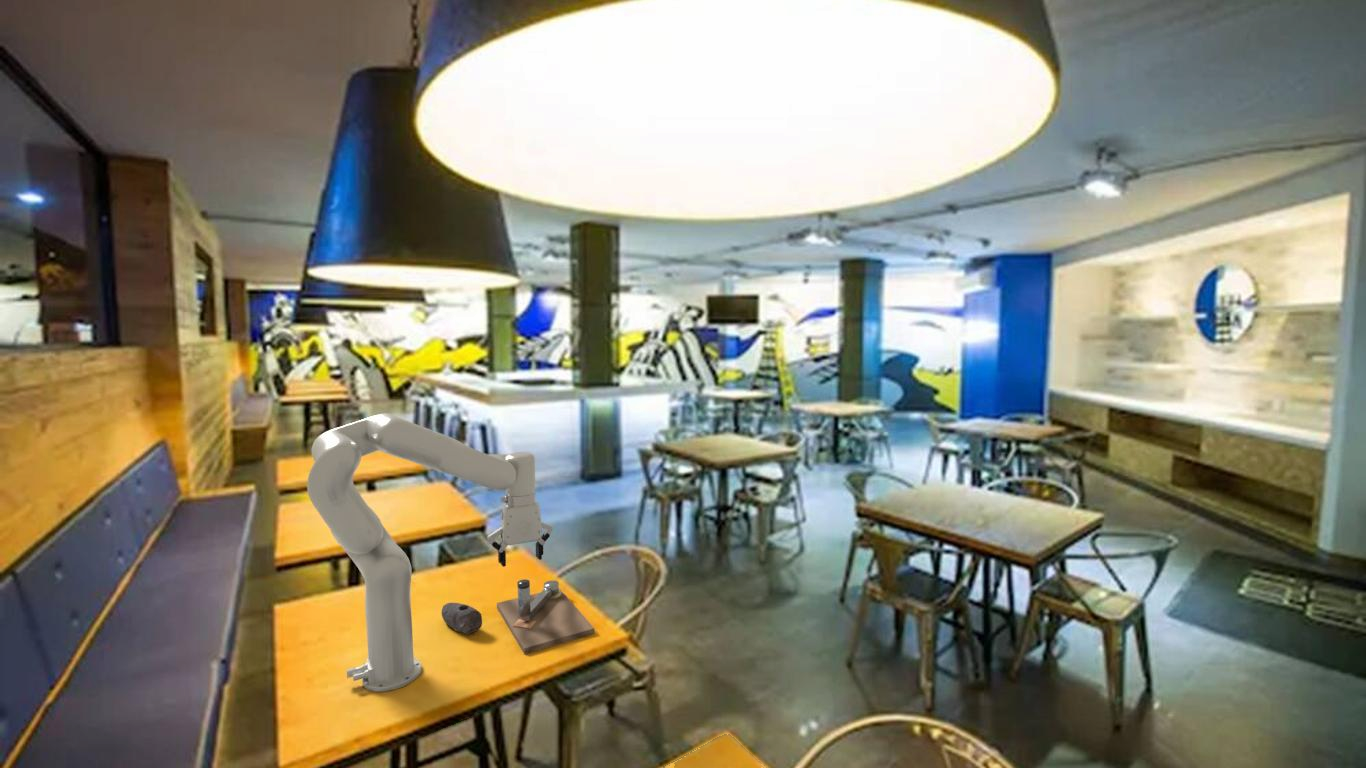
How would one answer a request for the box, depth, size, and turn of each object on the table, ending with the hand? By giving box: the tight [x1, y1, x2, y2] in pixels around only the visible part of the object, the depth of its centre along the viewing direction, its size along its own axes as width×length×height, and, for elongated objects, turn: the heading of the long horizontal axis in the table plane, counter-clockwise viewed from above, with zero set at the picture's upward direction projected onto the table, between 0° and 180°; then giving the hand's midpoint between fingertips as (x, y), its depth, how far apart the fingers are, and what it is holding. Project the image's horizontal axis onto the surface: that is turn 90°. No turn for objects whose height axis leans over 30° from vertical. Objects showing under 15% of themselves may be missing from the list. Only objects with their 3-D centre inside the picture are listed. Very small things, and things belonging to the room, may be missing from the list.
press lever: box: [516, 579, 560, 621], centre depth 170 cm, size 4×22×11 cm, turn 169°
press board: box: [496, 587, 595, 655], centre depth 167 cm, size 19×28×2 cm
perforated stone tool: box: [441, 602, 483, 635], centre depth 162 cm, size 15×5×7 cm, turn 54°
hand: (521, 561), depth 159 cm, fingers open, 9 cm apart
